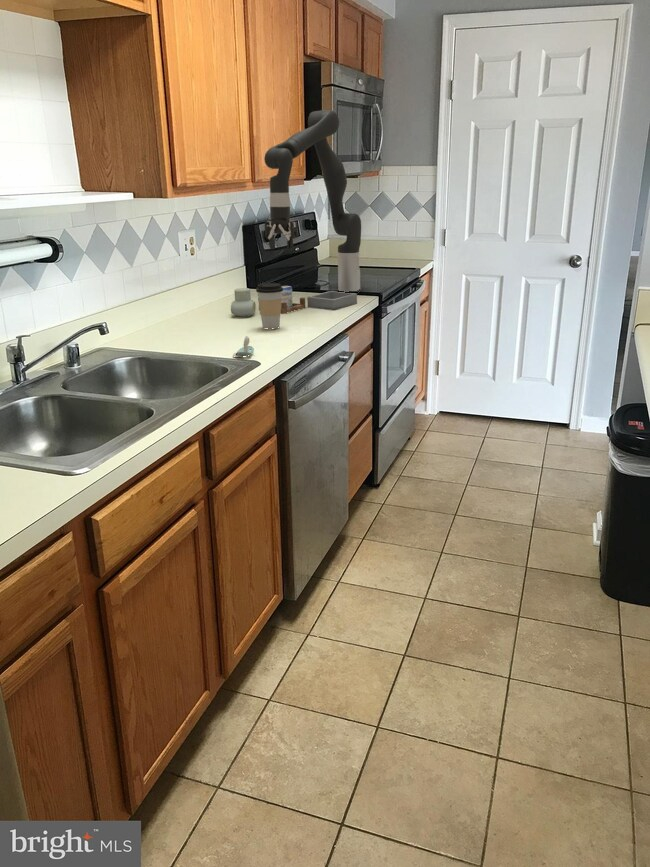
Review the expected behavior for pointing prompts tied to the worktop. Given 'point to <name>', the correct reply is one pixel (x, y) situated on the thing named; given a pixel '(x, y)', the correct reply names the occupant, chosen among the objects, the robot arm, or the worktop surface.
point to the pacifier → (245, 349)
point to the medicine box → (287, 296)
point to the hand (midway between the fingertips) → (281, 249)
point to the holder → (295, 306)
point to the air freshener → (243, 303)
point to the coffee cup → (270, 304)
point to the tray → (332, 300)
